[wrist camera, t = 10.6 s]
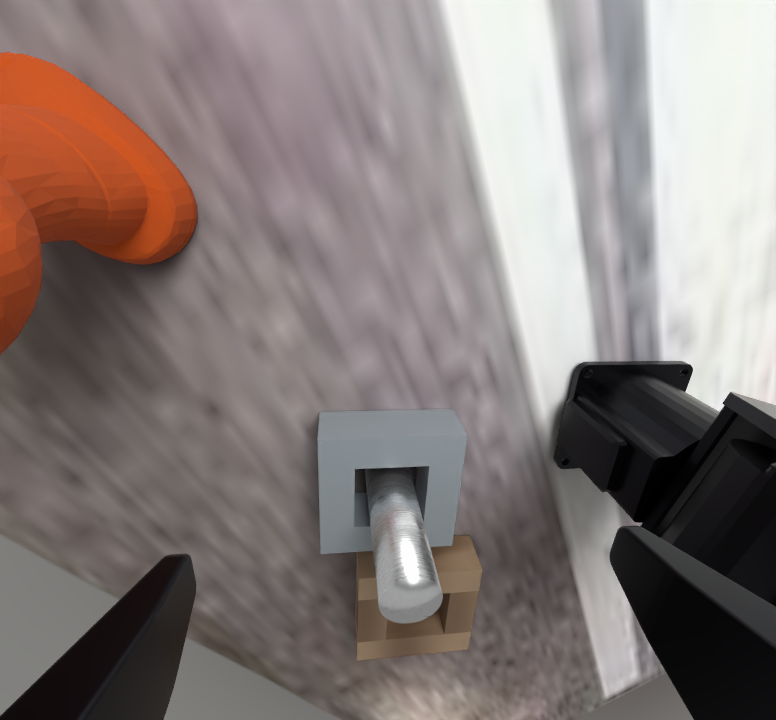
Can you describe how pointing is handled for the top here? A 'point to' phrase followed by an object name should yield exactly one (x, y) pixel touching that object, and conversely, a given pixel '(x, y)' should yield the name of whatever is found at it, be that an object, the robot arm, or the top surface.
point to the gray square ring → (387, 450)
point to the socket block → (433, 633)
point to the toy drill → (77, 183)
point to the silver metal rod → (400, 548)
